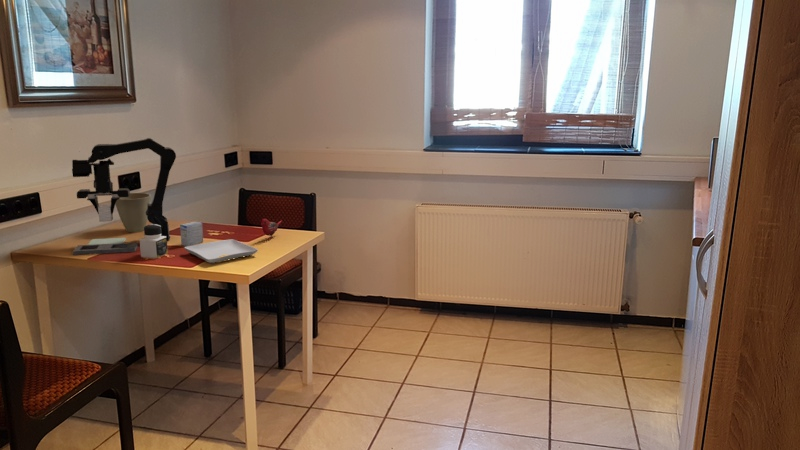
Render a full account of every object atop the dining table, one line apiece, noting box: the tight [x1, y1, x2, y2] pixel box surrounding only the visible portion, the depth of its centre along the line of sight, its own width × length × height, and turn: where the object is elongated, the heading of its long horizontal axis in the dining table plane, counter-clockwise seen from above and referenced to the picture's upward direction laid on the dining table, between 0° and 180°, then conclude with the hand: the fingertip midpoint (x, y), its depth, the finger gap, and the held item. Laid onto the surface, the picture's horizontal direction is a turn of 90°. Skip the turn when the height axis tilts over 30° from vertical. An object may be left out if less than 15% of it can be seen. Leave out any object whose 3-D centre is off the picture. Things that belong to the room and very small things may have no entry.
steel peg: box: [98, 204, 114, 223], centre depth 240 cm, size 4×4×6 cm
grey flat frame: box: [72, 241, 139, 256], centre depth 234 cm, size 22×9×2 cm, turn 106°
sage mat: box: [87, 237, 127, 245], centre depth 244 cm, size 13×10×1 cm
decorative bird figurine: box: [260, 218, 283, 241], centre depth 256 cm, size 3×18×10 cm, turn 161°
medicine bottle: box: [139, 223, 169, 259], centre depth 227 cm, size 7×7×12 cm
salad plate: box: [183, 238, 259, 264], centre depth 230 cm, size 21×21×3 cm
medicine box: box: [179, 221, 204, 247], centre depth 245 cm, size 8×4×9 cm, turn 149°
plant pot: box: [115, 192, 151, 233], centre depth 263 cm, size 15×15×16 cm
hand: (105, 214), depth 240 cm, fingers closed on steel peg, 4 cm apart
